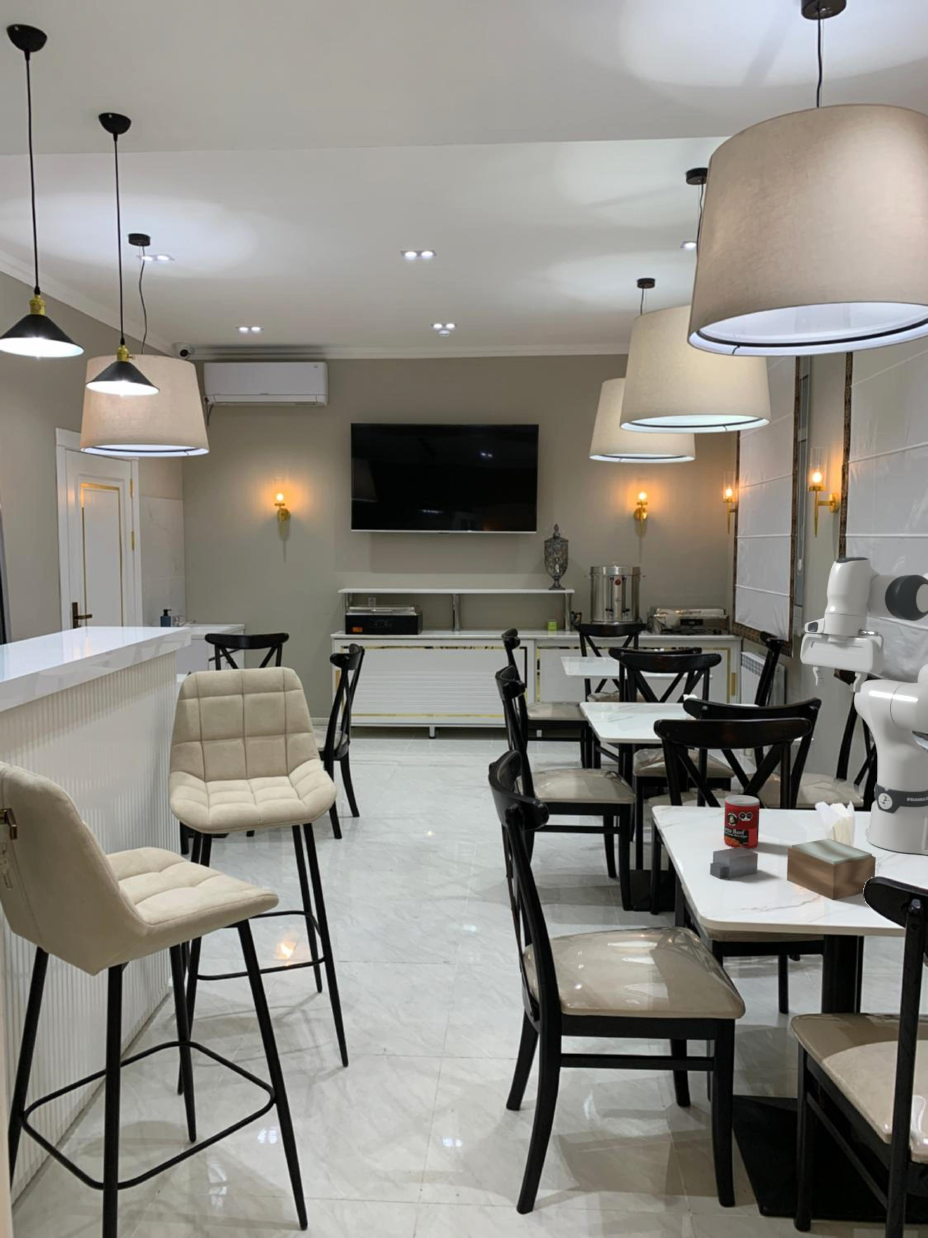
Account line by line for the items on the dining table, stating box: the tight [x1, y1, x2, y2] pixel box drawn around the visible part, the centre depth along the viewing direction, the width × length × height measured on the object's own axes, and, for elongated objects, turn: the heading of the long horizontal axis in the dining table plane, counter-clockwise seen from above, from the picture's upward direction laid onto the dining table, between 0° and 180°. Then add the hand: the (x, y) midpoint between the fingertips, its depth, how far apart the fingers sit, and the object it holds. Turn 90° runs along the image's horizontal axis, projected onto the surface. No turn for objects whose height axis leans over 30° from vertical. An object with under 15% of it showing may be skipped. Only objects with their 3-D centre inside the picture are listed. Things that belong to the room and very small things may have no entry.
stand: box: [786, 838, 877, 901], centre depth 185 cm, size 12×12×8 cm
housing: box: [709, 847, 759, 880], centre depth 192 cm, size 10×5×4 cm, turn 116°
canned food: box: [723, 794, 761, 850], centre depth 211 cm, size 8×8×11 cm
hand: (837, 689), depth 199 cm, fingers open, 8 cm apart
